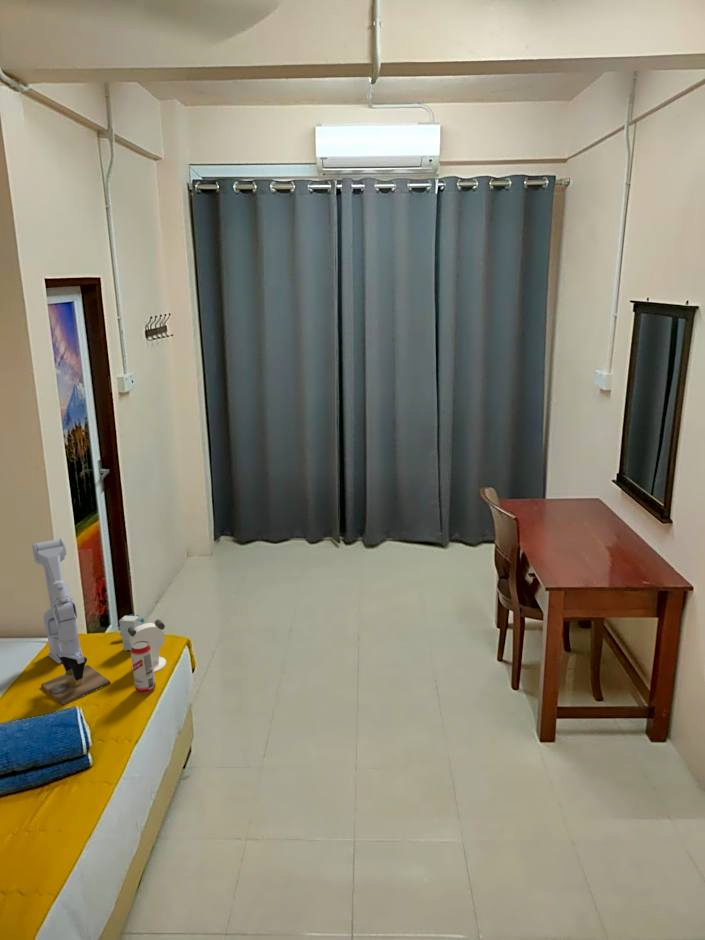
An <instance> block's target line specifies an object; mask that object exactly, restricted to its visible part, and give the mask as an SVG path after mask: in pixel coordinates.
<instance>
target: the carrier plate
mask: <svg viewBox="0 0 705 940" xmlns="http://www.w3.org/2000/svg"><path fill="white" fill-rule="evenodd" d="M83 672H84V679H85V681H84V682H83V684H81V685H79V686H77V687H69V686H68V685H67V683H66V676H65V673H64V674H63V675H60V676H57V677H55V678H52V679H50V680H48V681H45V682H43V683H40V686H41V687H43V689H44V691H45V692H47V691H48V692H49V693H50V694H51V695H50V694H49V693H48V692H47V693H48V694H49V695H50V696H51V697H53V698H54V697H55V698H56V699H57V700H58V701H59V702H58V701H57V700H56V699H55V698H54V699H55V700H56V701H57V702H58V703H60V704H61V705H62V706H64V705H66V704H68V702H69V703H70V701H71V702H73V701H75V700H74V699H76V698H78V699H80V698H82V697H84V696H83V695H85V696H86V694H87V693H89V694H91V693H93V692H92V691H94V690H96V689H98V690H100V689H102V688H101V687H103V688H105V687H107V686H110V685H111V681H110V679H108V678H107V677H105V676H104V675H103V674H102V673H100V672H98V671H97V670H95V669H94V667H92V666H90V665H89V664H85V666H84V671H83ZM72 674H73V671H72ZM109 684H110V685H109ZM106 685H107V686H106ZM104 686H105V687H104ZM99 688H100V689H99ZM96 691H97V690H96ZM90 692H91V693H90ZM94 692H95V691H94ZM87 695H88V694H87ZM81 696H82V697H81ZM79 697H80V698H79ZM72 700H73V701H72ZM76 700H77V699H76ZM65 703H66V704H65ZM63 704H64V705H63Z"/></svg>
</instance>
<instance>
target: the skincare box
mask: <svg viewBox="0 0 705 940" xmlns="http://www.w3.org/2000/svg"><path fill="white" fill-rule="evenodd" d="M140 620H141V618H140V617H138V616H136V615H133V616H130V615H124V616H123V617H121V618H120V619H119V620H118V624H119V623H120V624H119V626H120V629H121V630H120V633H121V634H120V636H121V635H122V636H121V641H122V646H123V647H122V648H123V650H124V651H127V650H130V652H131V649H132V646H131V645H130V641H129V639H130V634H129V633H128V628H129V627H133V628H135V627H137V626H139V625H141V624H142V622H140Z"/></svg>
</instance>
